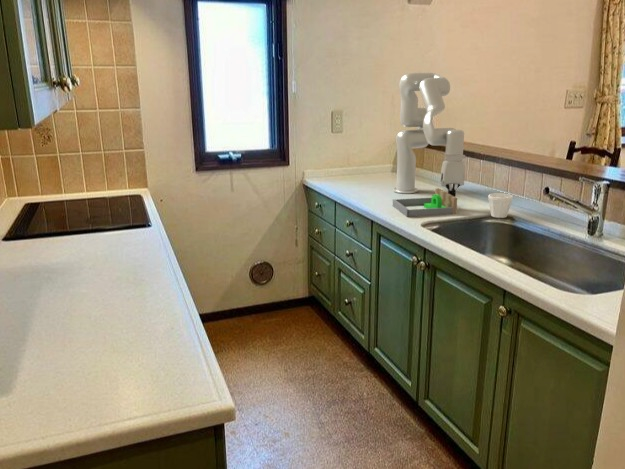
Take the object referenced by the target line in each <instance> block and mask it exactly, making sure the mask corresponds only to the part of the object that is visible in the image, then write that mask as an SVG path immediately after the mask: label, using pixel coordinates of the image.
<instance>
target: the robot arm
mask: <svg viewBox="0 0 625 469" xmlns="http://www.w3.org/2000/svg"><path fill="white" fill-rule="evenodd" d="M398 84H399V85H398V88H399V89H398V90H399V95H400V111H399V112H400V113H399V123H400V126H401V127H403V128H417V129H405V130H401V131H399V132H398V133H397V134H396V136H395V144H396V153H397V154H396V187H394V188H393V189H392V190H393V192H395V193H398V194H415V193H417V192H419V189H418V188H416V168H417V164H416V163H417V158H416V153H415V152H414V149H423V148H427V146H429V145H431V146H445V152H444V153H445V154H444V155H445V156H444V160H443V161H442V164H441V168H440V176H439V181H440V182H441V183H440V186H441V187H445V189H447V193H449V194H450V195H452V196H454V197H456V195H457V194H456V193H457V190H458V188H460V187H462V186H464V185H465V180H466V179H465V178H466V172H465V171H466V168H465V161H464V159H465V158H466V154H464V144H465V143H464V141H465V132H464V130H462V129H456V128H453V127H438V128H436V127H435V126H434V122H433V117H435V116H437V115H439V114H440V113H442V112H443V111H444V110H445V108H446V104H445V101H444V99H443V97H445V96H448V95H449V94H450V91H451V84H450V82H449V80H448V78H446V77H445V76H442V75H440V74H438V73H436V72H435V73H434V72H409V73H406V74H403V75H402V76H401V78H400V79H399V83H398ZM416 92H420V94H421V95H420V96H421V97H422V101H423V103H424V107H418V106H419V97H418V95H417V93H416Z"/></svg>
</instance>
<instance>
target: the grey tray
mask: <svg viewBox="0 0 625 469" xmlns="http://www.w3.org/2000/svg"><path fill="white" fill-rule="evenodd" d="M431 199H432V196H431V197H416V198H414V197H413V198H395V199H392V207H393V208H395V209H396V210H397V211H399V212H400V213H401V214H402V215H403V216H405V217H406V218H413V217H429V216H432V217H433V216H445V215H448V216H449V215H454V214H453V207H446V208H428V209H426V208H415V209H414V208H413V209H409V208H407V207H406V206H420V205H422V206H424V204H425V203H431Z"/></svg>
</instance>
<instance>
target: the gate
mask: <svg viewBox="0 0 625 469" xmlns="http://www.w3.org/2000/svg"><path fill="white" fill-rule="evenodd" d="M434 193H435V194H434V195H438V194H439V195H440V196H441V199H442V205H443V206H445V207H453V214H452V215H456V214H457V207H458V206H457V204H458V198H457V197H456V196H455V197H454V196H452V195H450V194H449V193H448V191H445V190H444V189H441V188H439V187H438V188H437V187H436V188H435V192H434Z"/></svg>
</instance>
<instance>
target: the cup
mask: <svg viewBox="0 0 625 469" xmlns="http://www.w3.org/2000/svg"><path fill="white" fill-rule="evenodd" d="M487 198H488V203H489V210H490V216H491V217H492V218H494V219H506V218H507V217H508V214H509V211H510V208H511V206H512V203H513V200H514V195H513V194H510V193H503V192H494V193H489V194H488V196H487Z"/></svg>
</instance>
